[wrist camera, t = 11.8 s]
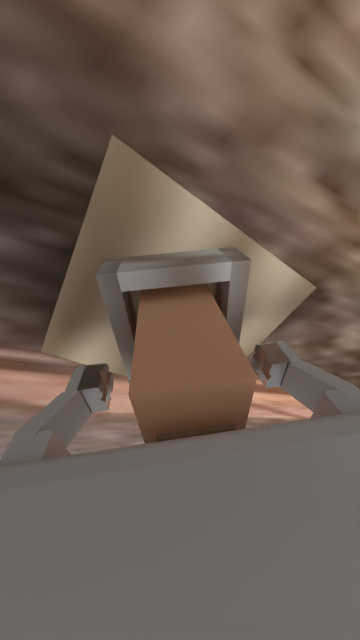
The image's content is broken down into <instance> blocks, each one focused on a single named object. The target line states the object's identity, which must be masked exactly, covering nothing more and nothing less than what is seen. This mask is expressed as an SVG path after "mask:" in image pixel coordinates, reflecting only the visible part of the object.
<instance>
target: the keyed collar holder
mask: <svg viewBox="0 0 360 640" xmlns="http://www.w3.org/2000/svg"><path fill="white" fill-rule="evenodd" d="M203 283H206V284H207V286H208V288H209V290H210V292H211V293H212V295H213V297H214V299H215V301H216V303H217V304H218V306H219V308H220V310H221V312H222V314H223V315H224V317H225V319H226V321H227V323H228V325H229V326H230V328H231V330H232V332H233V334H234V336H235V337H236V339H237V341H238V343H239V345H240V347H241V348H242V350H243V352H244V354H245V356H246V357H247V356H248V355H249V354H250V353H251V352H252V351H253V350H254V348H255V345H256V344H260V343H261V342H262V341H263V340H264V339H265V338H266V337H267V336H268V335H269V334H270V333H271V332H272V331H273V330H275V329H276V328H277V327H278V326H279V325H280V324H281V323H282V322H283V321H284V320H285V319H286V318H287V317H288V316H289V315H290V314H291V313H292V312H293V311H294V310H295V309H296V308H297V307H298V306H299V305H300V304H301V303H302V302H303V301H304V300H305V299H306V298H307V297H308V296H309V295H310V294H311V293H312V292H313V291H314V290H315V289H316V287H315V286H314V285H312V284H311V283H310V282H308V281H307V280H306V279H304V278H303V277H302V276H300V275H299V274H298V273H296V272H295V271H294V270H292V269H291V268H290V267H288V266H287V265H286V264H284V263H283V262H282V261H280V260H279V259H278V258H276V257H275V256H274V255H272V254H271V253H270V252H268V251H267V250H266V249H264V248H263V247H262V246H260V245H259V244H258V243H256V242H255V241H254V240H252V239H251V238H250V237H248V236H247V235H246V234H244V233H243V232H242V231H240V230H239V229H238V228H236V227H235V226H234V225H232V224H231V223H230V222H228V221H227V220H226V219H224V218H223V217H222V216H220V215H219V214H218V213H216V212H215V211H214V210H212V209H211V208H210V207H208V206H207V205H206V204H204V203H203V202H202V201H200V200H199V199H198V198H196V197H195V196H194V195H192V194H191V193H190V192H188V191H187V190H186V189H184V188H183V187H182V186H180V185H179V184H178V183H176V182H175V181H174V180H172V179H171V178H170V177H168V176H167V175H166V174H164V173H163V172H162V171H160V170H159V169H158V168H156V167H155V166H154V165H152V164H151V163H150V162H148V161H147V160H146V159H144V158H143V157H142V156H140V155H139V154H138V153H136V152H135V151H134V150H132V149H131V148H130V147H128V146H127V145H126V144H124V143H123V142H122V141H120V140H119V139H118V138H116V137H115V136H114V135H112V136H111V139H110V142H109V145H108V148H107V151H106V154H105V157H104V160H103V164H102V167H101V170H100V173H99V176H98V179H97V182H96V185H95V188H94V191H93V194H92V197H91V200H90V203H89V206H88V209H87V212H86V215H85V218H84V221H83V224H82V227H81V230H80V233H79V237H78V240H77V243H76V246H75V249H74V252H73V255H72V258H71V261H70V264H69V267H68V270H67V273H66V276H65V279H64V282H63V285H62V288H61V291H60V294H59V297H58V300H57V303H56V306H55V310H54V313H53V316H52V319H51V322H50V325H49V328H48V331H47V334H46V337H45V340H44V343H43V346H42V349H41V352H43V353H47V354H50V355H54V356H57V357H61V358H64V359H68V360H71V361H75V362H78V363H81V364H85V365H91V364H101V363H107V364H108V366H109V372H112V373H116V374H119V375H123V376H126V377H128V381H129V384H130V378H131V369H132V361H133V352H134V343H135V335H136V326H137V318H138V309H139V300H140V292H141V290H145V289H154V288H164V287H174V286H184V285H193V284H203Z"/></svg>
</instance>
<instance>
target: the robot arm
mask: <svg viewBox="0 0 360 640" xmlns="http://www.w3.org/2000/svg"><path fill="white" fill-rule="evenodd" d="M254 350H255V352H256V353H255V354H254V355H253V358H252V362H253V366H254V369H255V371H256V372H257V373H259V374H260V380H261V382H262V383H263V385H264V387H265V388H272V387H281V388H282V389H283V390H285V391H286V392H287V393H289V394H290V395H291V396H293V397H294V398H295V399H297V400H298V401H299V402H301V403H302V404H303V405H305V406H306V407H307V408H308V409H310V410H311V411H312V412H313V414H312V416H311V417H310V419H306V420H299V421H293V422H286V423H279V424H273V425H266V426H259V427H253V428H246V429H239V430H233V431H226V432H220V433H213V434H206V435H200V436H193V437H187V438H180V439H173V440H167V441H160V442H154V443H147V444H140V445H134V446H127V447H120V448H114V449H107V450H100V451H94V452H87V453H80V454H74V455H71V453H70V452H69V451H68V450H67V449H66V447H67V446H68V444H69V443H70V442H71V440H72V439H73V438H74V436H75V435H76V434H77V433H78V431H79V430H80V429H81V427H82V426H83V425H84V423H85V422H86V421H87V419H88V418H89V417H90V415H91V414H92V413H93V412H99V411H105V410H109V405H110V400H111V397H110V395H109V394H110V393H111V392H112V390H113V377H112V374H111V373H110V372H108V371H109V366H108V364H107V363H101V364H91V365H83V366H77V367H76V368H75V369H74V372H73V374H72V376H71V379H70V381H69V383H68V386H67V388H66V390H65V392H64V393H61V394H60V395H59V396H57V397H56V398H55V399H54V400H53V401H52V402H51V403H49V404H48V405H47V406H46V407H45V408H44V409H43V410H41V411H40V412H39V413H38V414H37V415H36V416H35V417H33V418H32V419H31V420H30V421H29V422H28V423H27V424H25V425H24V426H23V427H22V428H21V429H20V430H19V431H17V432H16V433H15V434H14V436H13V438H12V440H11V442H10V443H9V445H8V447H7V449H6V451H5V452H4V454H3V456H2V458H1V460H0V640H360V390H359V389H358V388H357V387H356V386H355V385H353V384H351V383H348V382H346V381H344V380H342V379H340V378H338V377H336V376H334V375H332V374H330V373H328V372H326V371H324V370H322V369H320V368H318V367H316V366H314V365H312V364H310V363H308V362H306V361H301V360H300V359H299V357H298V356H297V355H296V354H295V353H294V352H293V350H292V349H291V348H290V347H289V346H288V345H287V343H286V342H285V341H276V342H269V343H262V344H256V345H255V348H254Z"/></svg>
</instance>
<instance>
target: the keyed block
mask: <svg viewBox="0 0 360 640" xmlns="http://www.w3.org/2000/svg"><path fill="white" fill-rule="evenodd" d="M256 381H257V376H256V374H255V372H254V370H253V369H252V367H251V365H250V363H249V361H248V359H247V358H246V356H245V354H244V352H243V350H242V348H241V347H240V345H239V343H238V341H237V339H236V337H235V336H234V334H233V332H232V330H231V328H230V326H229V325H228V323H227V321H226V319H225V317H224V315H223V314H222V312H221V310H220V308H219V306H218V304H217V303H216V301H215V299H214V297H213V295H212V293H211V292H210V290H209V288H208V286H207V284H206V283H203V284H193V285H184V286H174V287H164V288H154V289H145V290H141V292H140V300H139V309H138V318H137V326H136V335H135V343H134V352H133V361H132V369H131V378H130V386H129V397H130V400H131V403H132V406H133V409H134V412H135V415H136V418H137V421H138V424H139V427H140V430H141V433H142V436H143V439H144V442H145V444H147V443H154V442H160V441H167V440H173V439H180V438H187V437H193V436H200V435H206V434H213V433H220V432H226V431H233V430H239V429H245V426H246V422H247V418H248V413H249V409H250V405H251V401H252V397H253V393H254V389H255V385H256Z"/></svg>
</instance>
